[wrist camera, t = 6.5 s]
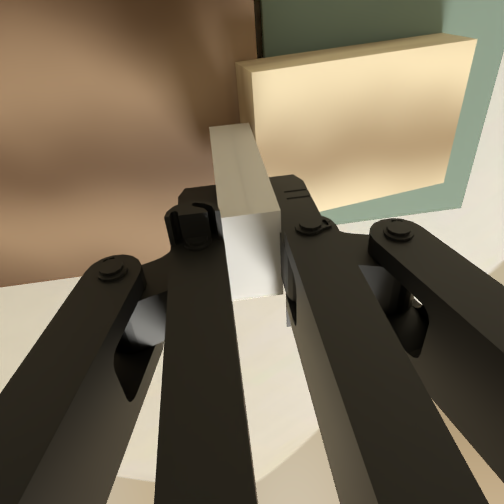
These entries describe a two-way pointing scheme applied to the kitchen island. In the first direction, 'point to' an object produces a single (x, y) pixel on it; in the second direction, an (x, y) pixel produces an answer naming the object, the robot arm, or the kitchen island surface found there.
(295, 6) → the rubber mat
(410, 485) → the robot arm
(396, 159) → the maple tile
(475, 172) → the kitchen island surface
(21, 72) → the walnut deck
